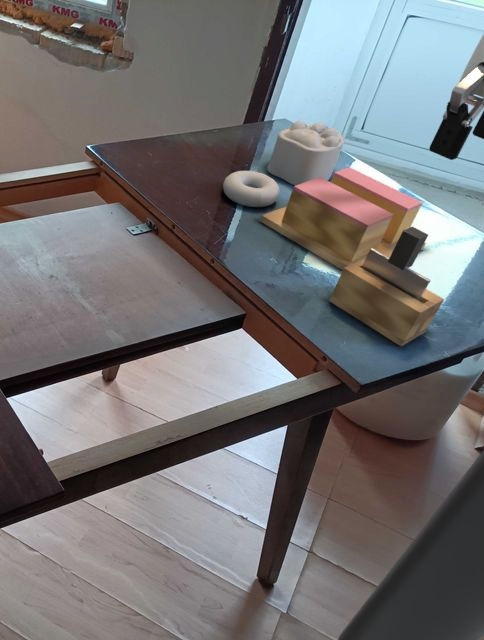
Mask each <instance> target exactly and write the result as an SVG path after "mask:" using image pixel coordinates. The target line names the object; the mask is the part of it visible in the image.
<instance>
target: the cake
mask: <svg viewBox="0 0 484 640" xmlns="http://www.w3.org/2000/svg"><path fill="white" fill-rule="evenodd" d="M393 215H394V214H392V213H390V212H388V211H386V210H384V209H382V208H380V207H378V206H376V205H374V204H372V203H370V202H368V201H367V200H365V199H363V198H361V197H359V196H357V195H355V194H353V193H351V192H349V191H347V190H345V189H343V188H341V187H339V186H337V185H335V184H333V183H331V181H329V180H328V181H327V180H325V179H323V178H321V177H319V178H316V179H313V180H310V181H307V182H304V183H302V184H299V185H294V186H293V188H292V191H291V193H290V196H289V199H288V202H287V205H286V206H284V207H280V208H278V209H275V210H273V211H270V212H267V213H265V214H262V215H261V217H260V221H259V222H260V223H262V224H263V225H265V226H267V227H268V228H270V229H272V230H273V231H275V232H277V233H279V234H280V235H282V236H284V237H286V238H287V239H288V240H291V241H293V242H295V243H296V244H297V245H298V246H300V247H303V248H304V249H305V250H307V251H310V252H311V253H313V254H315V255H316V256H318V257H319V258H321V259H323V260H325V261H326V262H328V263H330V264H331V265H333V266H334V267H336V268H338V269H340V270H341V271H343V269H344V268H345V267H347V266H349V265H351V264H353V263H356V262H358V261H360V260H362V259H364V258H366V257H367V255H368V253H369V251H370V249H371V248H373V249H375V250H377V251H379V252H381V253H382V254H384V255H386V256H388V257H390V256H391V254H392V252H393V250H394V248H395V246H396V244H397V242H398V241H396V242H394V243H392V244H390V243H389V242H387V241H385V240H383V239H382V238H383V236H384V234H385V232H386V230H387V227H388V225H389V223H390V221H391V219H392V217H393ZM426 244H427V242H426V241H425V242H424V244H423V246H422V248H421V250H420V251H422V250H424V248H425V246H426Z"/></svg>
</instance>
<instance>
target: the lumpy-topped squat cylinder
mask: <svg viewBox="0 0 484 640" xmlns="http://www.w3.org/2000/svg"><path fill="white" fill-rule="evenodd" d="M344 143H345V139H344V136H343V135H342V133H340V132H339V131H338V129H336V128H335V127H329V126H326V124H324V123H322V122H317V123H314V124H308V123H305V122H303V121H301V120H297V121H295V122H293V123H292V125H290V127H287V128H285V129H283V130H281V131H279V132H278V135H277V138H276V140H275V144H274V146H273V150H272V152H271V157H270V159H269V162H268V165H267V169H266V170H267V172H268V173H270V174H271V175H273V176H275V177H278V178H281V179H282V180H284V181H286V182H288V183H289V184H290V185H292V186H293V185H294V186H296V185H299V184H302V183H304V182H307V181H310V180H313V179H316V178H319V177H321V178H323V179H325V180H327V181H329V180H330V179H331V177H332V174H333V172H334V169H335V167H336V164H337V161H338V159H339V157H340V154H341V151H342V149H343V147H344Z"/></svg>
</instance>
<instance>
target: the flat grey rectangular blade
mask: <svg viewBox="0 0 484 640" xmlns="http://www.w3.org/2000/svg"><path fill="white" fill-rule="evenodd" d="M428 238H429V234H428V233H426V232H424V231H422V230H420V229H418V228H416V227H415V226H411V227H410V228H408V229H406V230H403V232H402V234H401V236H400V238H399V240H398V242H397V244H396V246H395V248H394V250H393V252H392V254H391V256H390V257H388V256H386V255H384V254H382V253H381V252H379V251H377V250H375V249H373V248H371V249H370V251H369V253H368V255H367V257H366V259H365V261H364V263H363V265H362V268H363V269H364V270H366V271H368V272H369V273H371V274H373V275H375V276H376V277H378V278H380V279H382V280H383V281H385V282H387V283H388V284H390V285H392V286H394V287H395V288H397V289H399V290H401V291H402V292H404V293H406V294H407V295H409V296H411V297H413V298H414V299H416V300H418V301H419V300H420V298H421V297H422V295H423V293H424V291H425V290H426V289H427V287H428V286H429V284H430V282H431V279H429V277H426V276H424V275H422V274H421V273H419V272H417V271H415V270H413V269H412V268H411V267H413V265H414V263H415V261H416V259H417V257H418V255H419V254H420V252H421V251H422V250H421V248H422V246H423V244H424V242H425V243H426V241H427V239H428Z"/></svg>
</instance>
